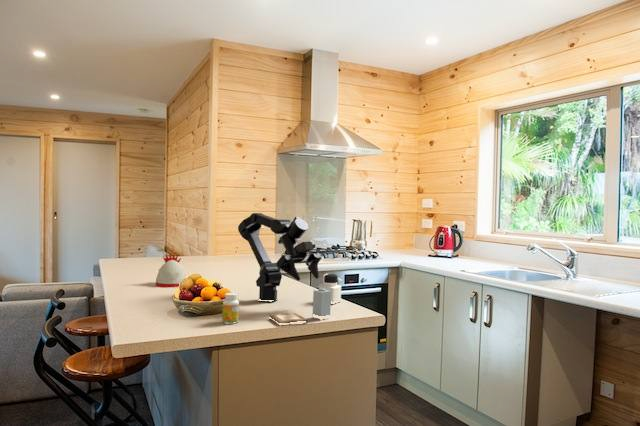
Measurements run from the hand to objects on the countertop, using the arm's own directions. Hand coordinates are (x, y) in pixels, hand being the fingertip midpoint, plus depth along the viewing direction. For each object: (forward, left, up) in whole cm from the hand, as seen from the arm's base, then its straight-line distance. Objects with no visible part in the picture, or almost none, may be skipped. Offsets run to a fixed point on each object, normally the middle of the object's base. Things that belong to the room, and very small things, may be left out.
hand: (308, 279), depth 174 cm
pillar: (+7, -4, -13) cm, 15 cm away
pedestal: (-2, -14, -13) cm, 19 cm away
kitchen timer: (-77, +24, -13) cm, 82 cm away
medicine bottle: (+2, +23, -13) cm, 27 cm away
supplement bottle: (-19, -24, -13) cm, 33 cm away
